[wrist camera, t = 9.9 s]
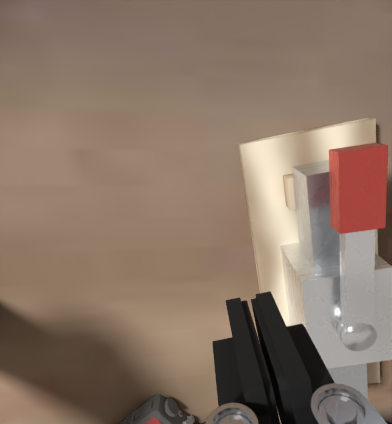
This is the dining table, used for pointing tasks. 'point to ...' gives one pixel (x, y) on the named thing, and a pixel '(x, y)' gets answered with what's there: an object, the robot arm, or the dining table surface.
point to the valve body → (329, 282)
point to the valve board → (271, 197)
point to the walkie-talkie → (158, 413)
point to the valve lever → (357, 234)
